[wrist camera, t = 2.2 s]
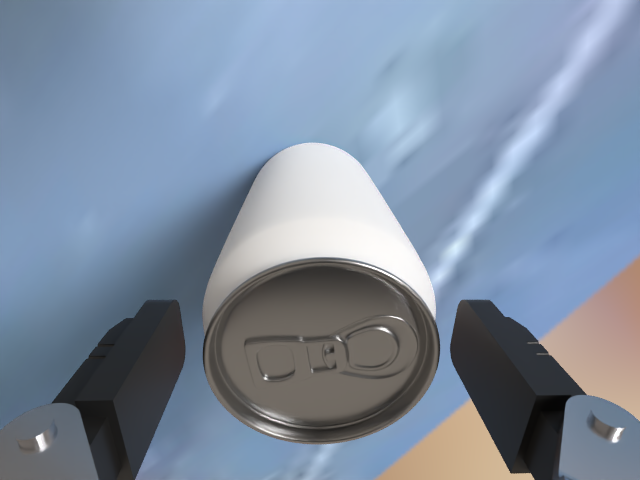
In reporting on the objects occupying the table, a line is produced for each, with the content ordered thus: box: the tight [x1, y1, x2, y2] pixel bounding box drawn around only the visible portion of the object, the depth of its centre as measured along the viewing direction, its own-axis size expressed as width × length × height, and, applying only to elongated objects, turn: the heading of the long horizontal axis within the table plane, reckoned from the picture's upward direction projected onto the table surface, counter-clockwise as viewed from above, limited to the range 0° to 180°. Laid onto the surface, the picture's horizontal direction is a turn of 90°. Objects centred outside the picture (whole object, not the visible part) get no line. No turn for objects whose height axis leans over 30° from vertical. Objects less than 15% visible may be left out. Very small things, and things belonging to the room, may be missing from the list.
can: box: [202, 143, 440, 444], centre depth 14 cm, size 6×6×12 cm
